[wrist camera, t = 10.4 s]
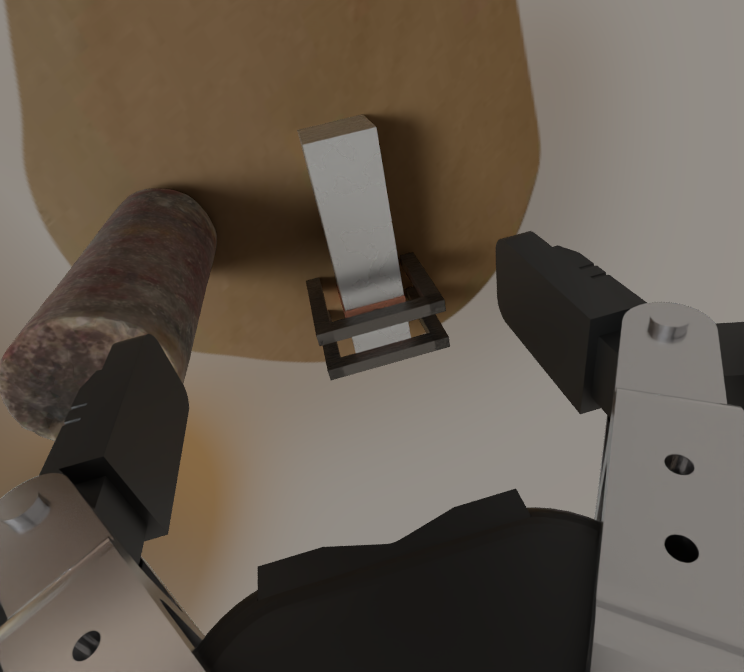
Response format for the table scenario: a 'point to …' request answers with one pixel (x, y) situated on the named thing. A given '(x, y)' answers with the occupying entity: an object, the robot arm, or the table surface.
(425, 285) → the collar
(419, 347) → the collar
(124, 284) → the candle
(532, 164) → the table surface
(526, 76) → the table surface
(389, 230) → the brushed metal post
